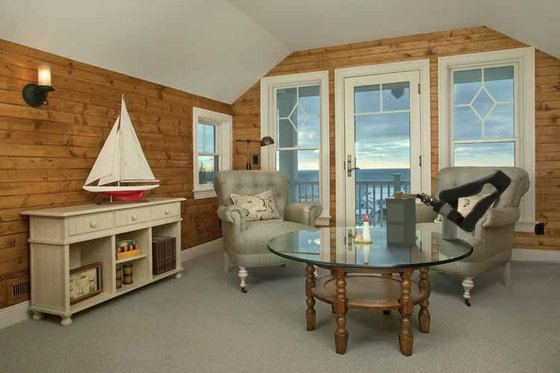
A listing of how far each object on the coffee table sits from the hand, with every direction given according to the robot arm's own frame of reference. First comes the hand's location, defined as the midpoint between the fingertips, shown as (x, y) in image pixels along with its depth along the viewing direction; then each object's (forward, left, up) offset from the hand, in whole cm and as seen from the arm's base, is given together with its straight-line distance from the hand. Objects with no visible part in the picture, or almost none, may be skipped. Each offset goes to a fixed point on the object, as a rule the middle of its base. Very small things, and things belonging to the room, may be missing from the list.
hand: (419, 194), depth 251 cm
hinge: (-17, -16, -33) cm, 40 cm away
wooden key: (0, -6, -2) cm, 6 cm away
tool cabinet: (0, -12, -32) cm, 34 cm away
